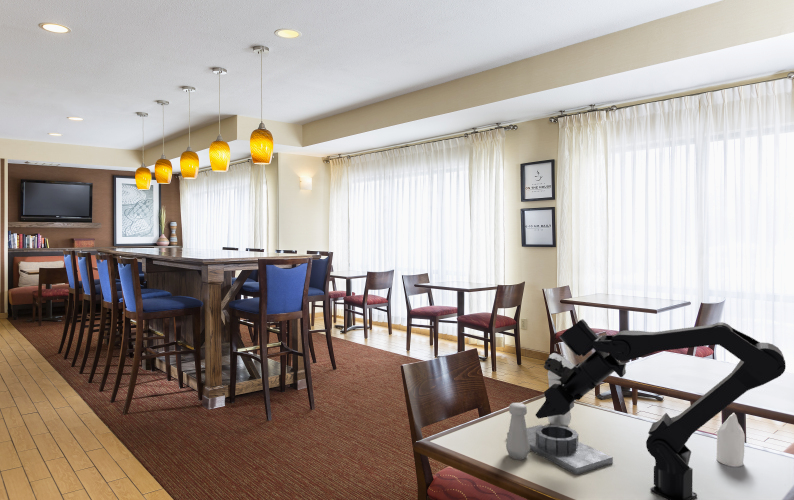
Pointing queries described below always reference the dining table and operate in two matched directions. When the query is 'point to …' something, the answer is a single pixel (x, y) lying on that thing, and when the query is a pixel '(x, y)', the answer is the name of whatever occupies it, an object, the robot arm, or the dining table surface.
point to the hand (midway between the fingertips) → (543, 410)
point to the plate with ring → (565, 448)
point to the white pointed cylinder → (730, 442)
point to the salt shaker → (517, 432)
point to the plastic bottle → (558, 419)
